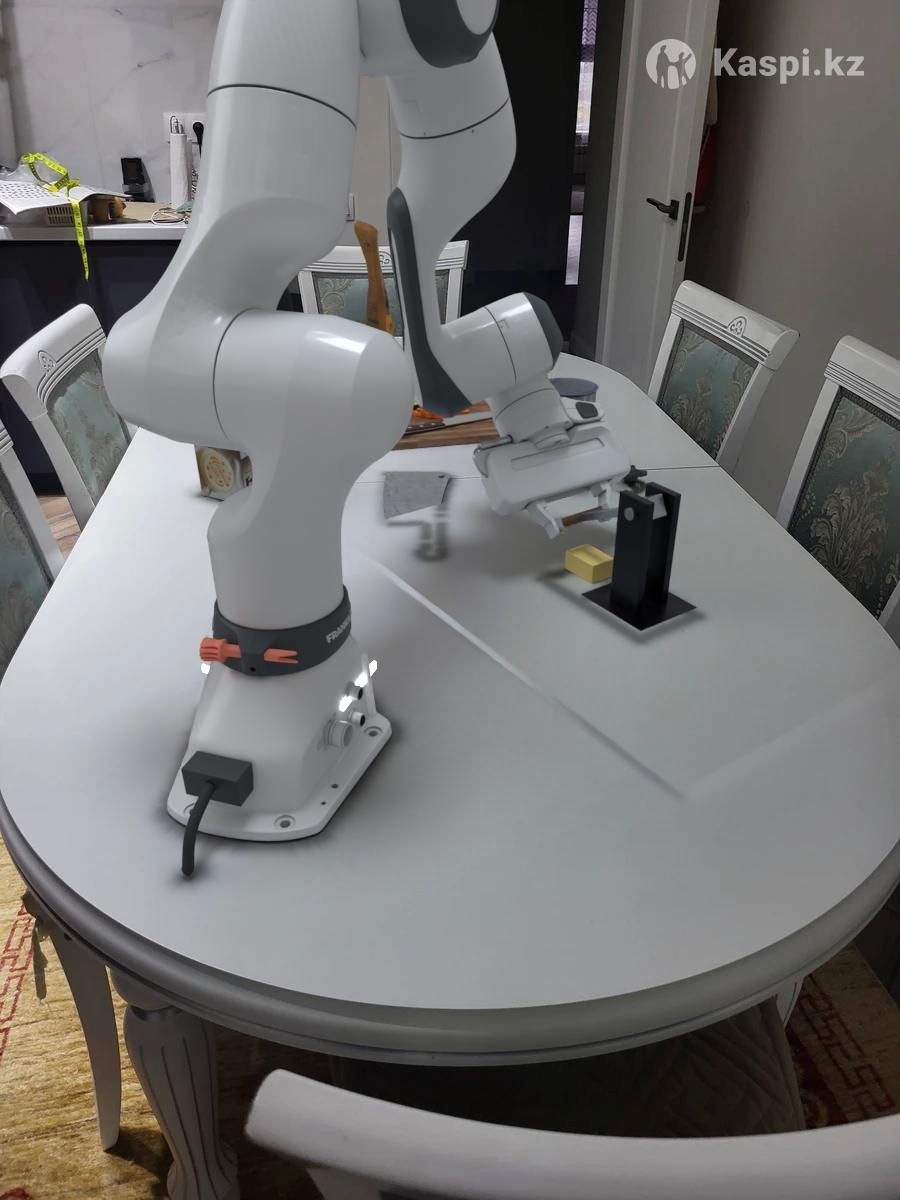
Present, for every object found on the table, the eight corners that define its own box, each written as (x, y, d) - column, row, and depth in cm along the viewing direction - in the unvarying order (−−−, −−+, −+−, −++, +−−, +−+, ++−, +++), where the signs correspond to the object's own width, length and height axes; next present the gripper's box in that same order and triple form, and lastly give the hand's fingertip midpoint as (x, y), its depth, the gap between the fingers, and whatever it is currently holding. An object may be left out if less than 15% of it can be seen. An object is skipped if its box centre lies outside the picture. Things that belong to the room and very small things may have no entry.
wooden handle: (369, 364, 197) (362, 228, 183) (360, 343, 213) (352, 216, 199) (399, 362, 198) (394, 226, 184) (388, 341, 214) (382, 215, 200)
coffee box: (274, 491, 135) (262, 387, 127) (247, 506, 131) (233, 399, 123) (227, 481, 139) (212, 379, 131) (199, 495, 134) (182, 391, 126)
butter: (564, 569, 111) (565, 550, 110) (585, 561, 113) (587, 543, 111) (591, 585, 107) (592, 566, 106) (612, 577, 109) (614, 558, 108)
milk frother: (523, 471, 141) (526, 379, 134) (611, 459, 146) (619, 369, 138) (561, 506, 130) (567, 407, 122) (656, 491, 134) (668, 395, 127)
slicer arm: (559, 534, 107) (554, 514, 107) (599, 520, 110) (595, 502, 110) (638, 524, 95) (633, 502, 95) (681, 510, 98) (676, 489, 98)
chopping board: (528, 390, 179) (529, 375, 177) (572, 435, 156) (573, 418, 154) (303, 407, 171) (301, 391, 169) (314, 456, 148) (312, 438, 146)
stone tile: (369, 558, 116) (446, 557, 116) (369, 554, 116) (446, 554, 115) (386, 473, 141) (449, 473, 141) (386, 470, 141) (449, 470, 141)
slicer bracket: (579, 602, 106) (588, 487, 98) (635, 581, 110) (647, 469, 103) (639, 640, 99) (654, 518, 91) (696, 616, 103) (714, 498, 95)
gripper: (478, 432, 103) (528, 538, 101) (610, 401, 113) (658, 497, 110) (457, 458, 108) (504, 559, 106) (585, 426, 118) (630, 518, 116)
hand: (584, 527), depth 108 cm, fingers closed on slicer arm, 6 cm apart
